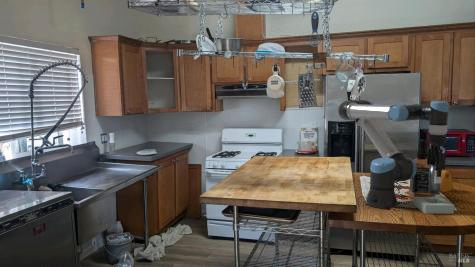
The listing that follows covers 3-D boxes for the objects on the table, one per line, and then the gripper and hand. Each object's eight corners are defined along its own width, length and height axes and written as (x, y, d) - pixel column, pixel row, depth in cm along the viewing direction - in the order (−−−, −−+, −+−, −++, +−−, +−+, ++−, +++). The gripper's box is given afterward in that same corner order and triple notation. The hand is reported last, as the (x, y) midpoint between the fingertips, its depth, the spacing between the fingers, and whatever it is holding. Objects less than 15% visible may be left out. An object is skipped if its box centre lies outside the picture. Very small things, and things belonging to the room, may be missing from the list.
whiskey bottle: (407, 194, 202) (410, 138, 198) (427, 195, 200) (430, 138, 196) (411, 200, 192) (414, 140, 188) (432, 201, 190) (435, 141, 186)
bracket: (441, 187, 216) (442, 167, 214) (453, 190, 209) (454, 170, 208) (428, 189, 212) (429, 169, 210) (439, 192, 205) (441, 172, 204)
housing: (424, 215, 169) (425, 205, 168) (413, 206, 182) (413, 196, 181) (453, 215, 168) (454, 205, 168) (439, 206, 181) (440, 196, 181)
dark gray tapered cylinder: (431, 194, 172) (432, 165, 170) (426, 191, 177) (427, 163, 175) (441, 194, 172) (443, 165, 170) (436, 191, 177) (438, 163, 175)
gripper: (456, 136, 161) (452, 186, 164) (436, 131, 179) (433, 176, 182) (439, 136, 162) (435, 186, 165) (421, 131, 180) (418, 176, 183)
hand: (434, 181), depth 174 cm, fingers closed on dark gray tapered cylinder, 5 cm apart
